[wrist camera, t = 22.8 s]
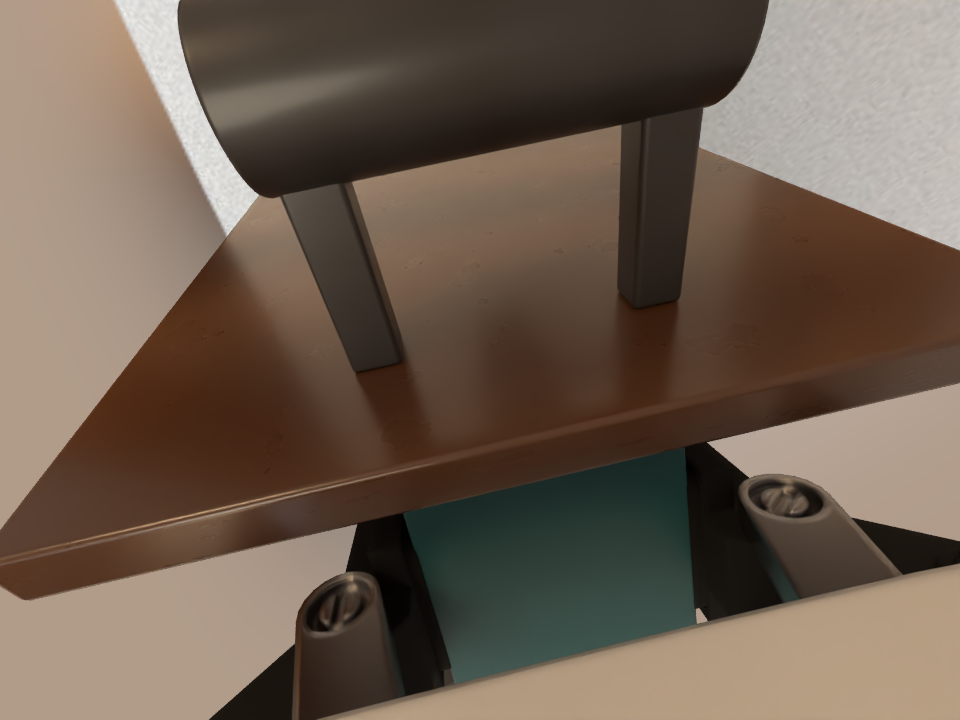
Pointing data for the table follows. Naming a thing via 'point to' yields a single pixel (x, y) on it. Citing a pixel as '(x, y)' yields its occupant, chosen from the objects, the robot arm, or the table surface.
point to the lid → (473, 280)
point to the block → (559, 564)
